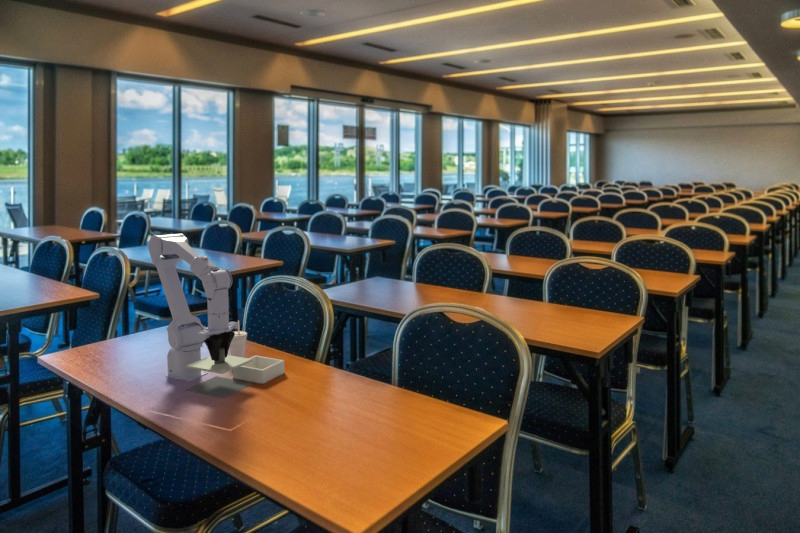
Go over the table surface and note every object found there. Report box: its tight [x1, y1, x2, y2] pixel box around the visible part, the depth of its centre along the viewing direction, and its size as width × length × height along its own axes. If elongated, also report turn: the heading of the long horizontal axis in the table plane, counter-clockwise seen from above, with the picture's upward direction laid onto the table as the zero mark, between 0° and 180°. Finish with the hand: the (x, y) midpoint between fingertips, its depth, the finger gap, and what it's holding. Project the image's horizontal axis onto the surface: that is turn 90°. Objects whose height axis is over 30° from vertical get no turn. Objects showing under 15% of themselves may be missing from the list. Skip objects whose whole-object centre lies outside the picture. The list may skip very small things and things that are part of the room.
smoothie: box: [229, 320, 248, 358], centre depth 196 cm, size 6×6×14 cm
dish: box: [232, 355, 286, 385], centre depth 183 cm, size 11×11×4 cm
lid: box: [186, 347, 252, 375], centre depth 172 cm, size 13×13×5 cm
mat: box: [185, 375, 254, 399], centre depth 173 cm, size 14×13×1 cm
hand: (219, 358), depth 172 cm, fingers closed on lid, 3 cm apart
